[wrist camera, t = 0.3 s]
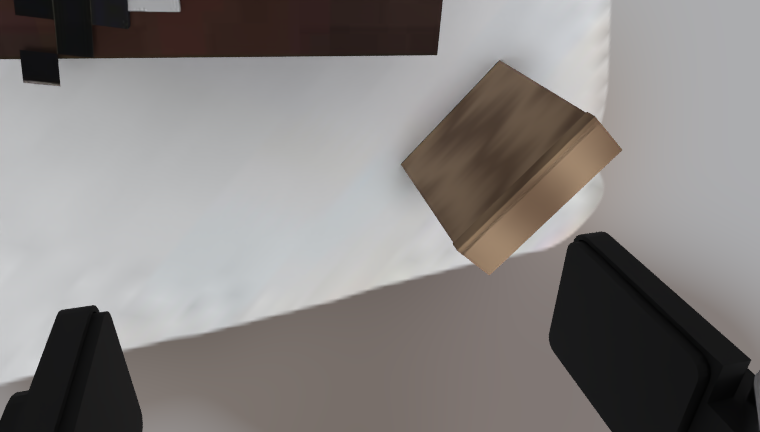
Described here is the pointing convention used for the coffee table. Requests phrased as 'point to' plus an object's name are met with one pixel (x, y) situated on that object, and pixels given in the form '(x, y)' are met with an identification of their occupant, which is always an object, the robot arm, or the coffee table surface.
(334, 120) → the coffee table surface
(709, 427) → the robot arm
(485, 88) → the bookend
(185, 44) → the decorative book
